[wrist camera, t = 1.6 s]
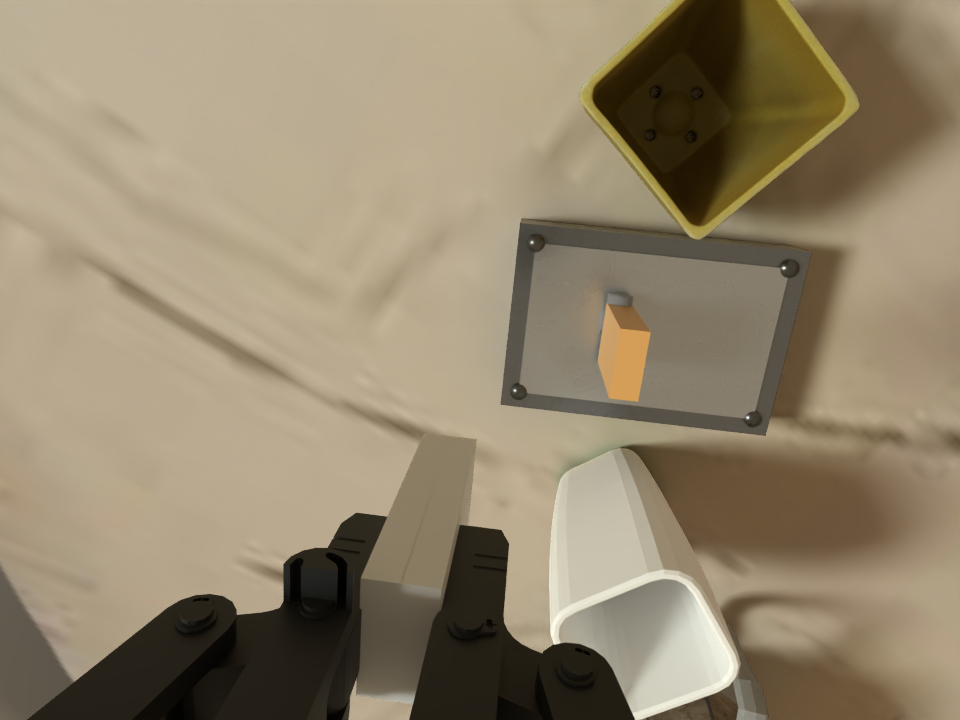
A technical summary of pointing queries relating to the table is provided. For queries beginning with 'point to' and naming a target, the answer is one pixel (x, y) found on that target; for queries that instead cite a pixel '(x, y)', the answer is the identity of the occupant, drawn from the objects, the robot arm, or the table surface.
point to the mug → (725, 698)
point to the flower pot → (718, 103)
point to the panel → (653, 323)
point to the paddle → (622, 348)
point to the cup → (635, 587)
